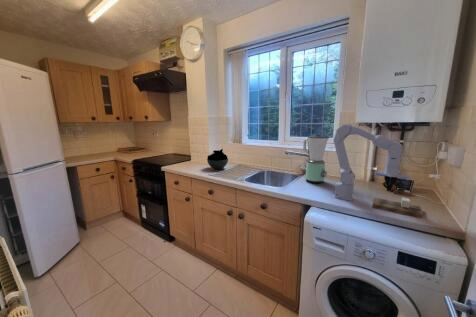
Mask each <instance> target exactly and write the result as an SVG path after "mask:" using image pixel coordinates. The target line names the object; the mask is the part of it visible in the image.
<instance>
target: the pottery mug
mask: <svg viewBox="0 0 476 317" xmlns="http://www.w3.org/2000/svg"><path fill="white" fill-rule="evenodd" d="M399 184H400V186H402V188H401V187H397V185H399ZM382 186H383V187H384V188H385V189H386V190H387V185H386V182H385V181H384V182H382ZM389 186H390V183H389ZM406 188H407V185H406V184H405V183H404V182H402V181H399V180H397V181H396V182H395V183H394V185H393V186H392V188H391V190H393V192H392V193H393V194H395V195H396V194H401V193H404V192H405V191H406Z"/></svg>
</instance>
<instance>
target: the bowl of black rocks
mask: <svg viewBox="0 0 476 317" xmlns="http://www.w3.org/2000/svg"><path fill="white" fill-rule="evenodd" d="M223 150H224V149H223V148H221V149H219V150H217V149H215V150H213V151H212V153H211V154H208V155H207V159H206V161H207V164H208V166H209V167H210V168H212V169H214V170H222V169H223V168H225V167H226V166H227V165H228V161H229V158H228V155H226V154H225V153H224V152H223Z"/></svg>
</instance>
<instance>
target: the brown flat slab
mask: <svg viewBox="0 0 476 317" xmlns="http://www.w3.org/2000/svg"><path fill="white" fill-rule="evenodd" d="M371 208H374V209H377V210H378V209H379V210H383V211H387V212H392V213H395V214H401V215H406V216H410V217H413V218H418V219H423V216H424V213H423V210H422V207H421V206H419V205H414V204H410V205H409V208H406V207H401V202H400V201H399V202H398V201H394V200H390V199H389V200H388V199H384V198H379V197H378V198H377V197H373V200H372V207H371Z"/></svg>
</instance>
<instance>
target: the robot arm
mask: <svg viewBox="0 0 476 317" xmlns="http://www.w3.org/2000/svg"><path fill="white" fill-rule="evenodd" d="M349 135H358V136H360V137H362V138H365V139H366V140H368V141H371V143H372V145H374V146H376V147H378V148H380V149H382V150H384V151H387V153H388V154H387V156H386V162H385V168H384V171H377V170H376V171H374V172H373V176H374V177H375V176H378V177H384V178H383V179H384V182H386V186H387V189H386V191H387V192H391V190H392V189H391V188H392V186H393V185H394V183H395V182H396V181H398V180H406V181H410V175H406V174H400V173H399V171H400V167H401V162H402V160H401V159H402V152H403V148H404V147H403V145H402V144H401V143H400V142H398V141H395V139H393V140H392V139H390V138H387V137H386V135H384V134H382V135H381V134H378V135H375V134H373V133H371V132H370V131H367V130H366V129H363V128H361V127H359V126H356V125H352V124H351V123H347V124H345V123H344V124H341V125H339V126H338V128H337V129H336V131H335V134H334V137H333V144H334V148H335V151H336V156H337V159H338V164H339V167H340V170H339V171H340V177H339V181H336V183H335V188H334V190H335V191H334V198H336V199H341V200H344V201H345V200H346V201H350V202H352V201H353V200H354V198H355V196H354V194H353V193H354V187H355V186H354V185H355V183H354V181H355V179H356V174H355V173H354V172H353V170H352V168H351V165H350V161H349V159H348V154H347V150H346V146H345V140H346V139H347V137H348V136H349ZM389 183H390V186H389Z"/></svg>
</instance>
